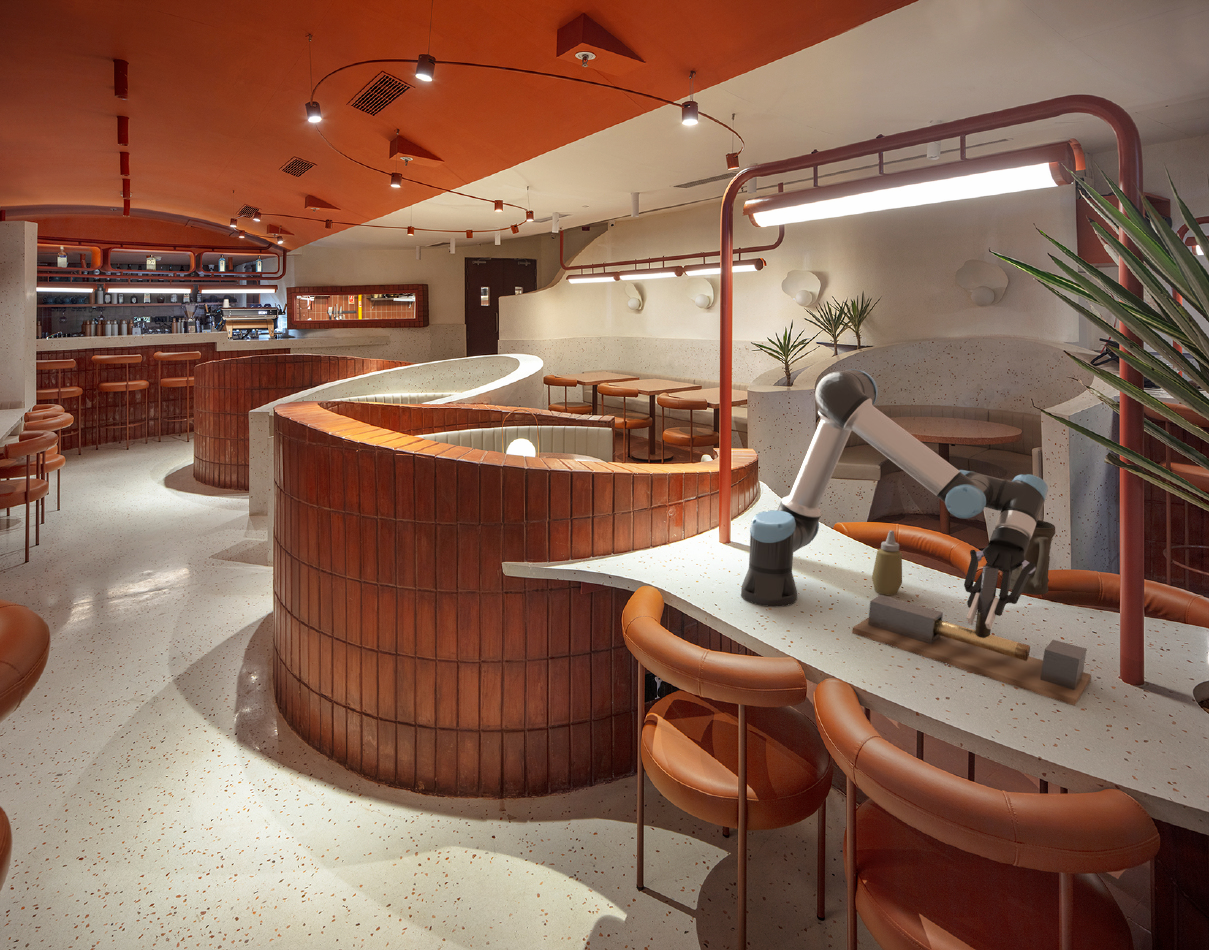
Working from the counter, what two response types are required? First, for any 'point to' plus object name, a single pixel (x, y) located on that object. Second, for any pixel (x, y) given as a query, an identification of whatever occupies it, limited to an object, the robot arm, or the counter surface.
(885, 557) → the squeeze bottle
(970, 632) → the sliding bolt
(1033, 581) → the beer stein
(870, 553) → the counter surface
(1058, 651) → the socket
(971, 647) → the base board
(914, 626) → the outer sleeve
